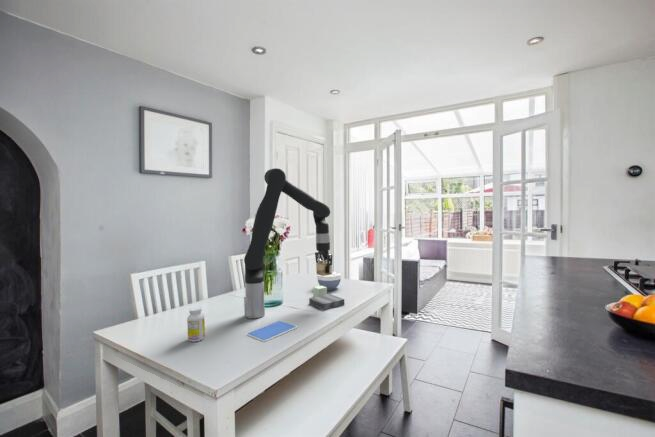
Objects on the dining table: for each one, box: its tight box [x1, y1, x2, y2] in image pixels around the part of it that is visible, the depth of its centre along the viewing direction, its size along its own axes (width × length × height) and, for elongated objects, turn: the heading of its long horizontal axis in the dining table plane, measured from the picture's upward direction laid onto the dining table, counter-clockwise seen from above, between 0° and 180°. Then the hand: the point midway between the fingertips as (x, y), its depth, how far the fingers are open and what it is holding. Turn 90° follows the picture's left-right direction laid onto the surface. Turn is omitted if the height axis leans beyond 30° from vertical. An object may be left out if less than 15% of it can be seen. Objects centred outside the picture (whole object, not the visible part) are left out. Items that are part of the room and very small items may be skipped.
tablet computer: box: [246, 320, 298, 343], centre depth 142 cm, size 19×13×1 cm, turn 140°
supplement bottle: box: [186, 306, 206, 343], centre depth 135 cm, size 7×7×13 cm
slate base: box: [309, 293, 345, 310], centre depth 179 cm, size 14×14×3 cm
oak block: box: [315, 262, 333, 276], centre depth 176 cm, size 6×6×6 cm
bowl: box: [316, 271, 342, 291], centre depth 213 cm, size 16×16×10 cm
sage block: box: [312, 285, 328, 298], centre depth 193 cm, size 6×6×6 cm
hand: (324, 272), depth 176 cm, fingers closed on oak block, 6 cm apart
